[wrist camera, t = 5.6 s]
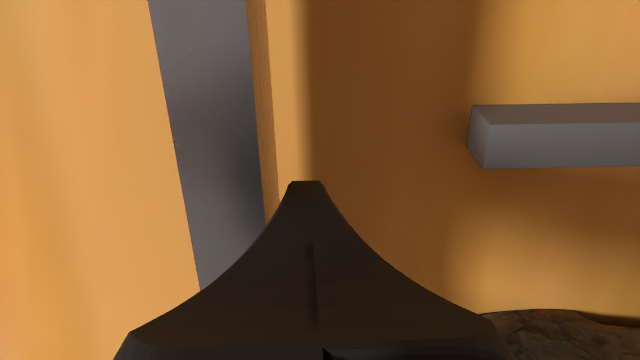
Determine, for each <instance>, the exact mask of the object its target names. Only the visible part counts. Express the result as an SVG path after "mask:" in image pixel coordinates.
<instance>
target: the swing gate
mask: <svg viewBox="0 0 640 360" xmlns="http://www.w3.org/2000/svg"><path fill="white" fill-rule="evenodd" d="M148 5H149V10H150V16H151V21H152V27H153V32H154V38H155V43H156V49H157V54H158V60H159V65H160V71H161V76H162V82H163V87H164V93H165V98H166V104H167V110H168V115H169V121H170V126H171V132H172V137H173V143H174V148H175V154H176V159H177V165H178V170H179V176H180V181H181V187H182V192H183V198H184V203H185V209H186V214H187V220H188V225H189V231H190V236H191V242H192V247H193V253H194V259H195V264H196V270H197V275H198V281H199V286H200V291H201V290H203V289H204V288H206V287H207V286H208V285H210V284H211V283H212V282H213V281H214V280H216V279H217V278H218V277H219V276H220V275H222V274H223V273H224V272H225V271H226V270H227V269H228V268H229V267H231V266H232V265H233V264H234V263H235V262H236V261H237V260H238V259H239V258H240V257H241V256H242V254H243V253H244V252H245V251H246V250H247V249H248V248H249V247H250V245H251V244H252V243H253V242H254V241H255V239H256V238H257V237H258V235H259V234H260V233H261V232H262V230H263V229H264V228H265V226H266V225H267V224H268V222H269V221H270V219H271V217H272V216H273V214H274V213H275V211H276V210H277V208H278V206H279V204H280V201H279V187H278V173H277V159H276V144H275V130H274V116H273V102H272V88H271V74H270V60H269V46H268V31H267V17H266V3H265V0H148Z"/></svg>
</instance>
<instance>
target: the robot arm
mask: <svg viewBox="0 0 640 360" xmlns="http://www.w3.org/2000/svg"><path fill="white" fill-rule="evenodd" d="M113 360H517V359H516V358H515V356H514V354H513V352H512V351H511V349H510V347H509V346H508V344H507V343H506V341H505V340H504V338H503V337H502V335H501V334H500V332H499V331H498V329H497V328H496V326H495V325H494V323H493V321H492V320H489V319H487V318H485V317H483V316H480V315H478V314H476V313H474V312H471V311H469V310H467V309H465V308H462V307H460V306H458V305H455V304H453V303H451V302H449V301H447V300H445V299H444V298H442V297H440V296H438V295H436V294H434V293H433V292H431V291H429V290H427V289H425V288H424V287H422V286H421V285H419V284H417V283H416V282H414V281H412V280H411V279H410V278H408V277H407V276H405V275H404V274H402V273H401V272H399V271H398V270H397V269H395V268H394V267H393V266H391V265H390V264H389V263H387V262H386V261H385V260H384V259H382V258H381V257H380V256H379V255H378V254H377V253H376V252H375V251H374V250H373V249H371V248H370V247H369V246H368V245H367V244H366V243H365V242H364V240H363V239H362V238H361V237H360V236H359V235H358V234H357V233H356V232H355V231H354V229H353V228H352V227H351V226H350V225H349V223H348V222H347V221H346V219H345V218H344V217H343V216H342V214H341V213H340V212H339V210H338V209H337V207H336V206H335V204H334V203H333V201H332V200H331V198H330V197H329V195H328V193H327V191H326V189H325V187H324V185H323V184H322V183H321V182H320V181H292V182H291V183H290V184H289V185H288V188H287V190H286V193H285V195H284V197H283V199H282V201H281V203H280V204H279V206H278V208H277V210H276V211H275V213H274V214H273V216H272V217H271V219H270V221H269V222H268V224H267V225H266V226H265V228H264V229H263V230H262V232H261V233H260V234H259V235H258V237H257V238H256V239H255V241H254V242H253V243H252V244H251V245H250V247H249V248H248V249H247V250H246V251H245V252H244V253H243V254H242V256H241V257H240V258H239V259H238V260H237V261H236V262H235V263H234V264H233V265H232V266H231V267H229V268H228V269H227V270H226V271H225V272H224V273H223V274H222V275H220V276H219V277H218V278H217V279H216V280H214V281H213V282H212V283H211V284H210V285H208V286H207V287H206V288H204V289H203V290H201V291H200V292H198V293H197V294H196V295H194V296H193V297H191V298H190V299H188V300H187V301H185V302H183V303H182V304H180V305H179V306H177V307H175V308H174V309H172V310H170V311H169V312H167V313H165V314H163V315H161V316H159V317H157V318H156V319H154V320H152V321H150V322H148V323H146V324H144V325H142V326H141V327H139V328H137V329H135V330H132V331H130V332H129V333H128V335H127V337H126V338H125V340H124V342H123V343H122V345H121V347H120V349H119V350H118V352H117V354H116V355H115V357H114V359H113Z"/></svg>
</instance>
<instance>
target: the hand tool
mask: <svg viewBox="0 0 640 360" xmlns="http://www.w3.org/2000/svg"><path fill="white" fill-rule="evenodd" d="M480 316H483V317H485V318H487V319H489V320H492V321H493V323H494V325H495V326H496V328H497V329H498V331H499V332H500V334H501V335H502V337H503V338H504V340H505V341H506V343H507V344H508V346H509V347H510V349H511V351H512V352H513V354H514V356H515V358H516V359H517V360H640V328H636V327H626V326H615V325H604V324H600V323H598V322H595V321H593V320H589V319H587V318H584V317H582V316H581V315H580V314H579V313H577V312H576V311H575V310H564V309H529V310H515V311H505V312H497V313H488V314H482V315H480Z"/></svg>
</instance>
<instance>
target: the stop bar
mask: <svg viewBox="0 0 640 360" xmlns="http://www.w3.org/2000/svg"><path fill="white" fill-rule="evenodd" d="M466 147H467V149H468V150H469V151H470V153H471V154H472V156H473V157H474V158H475V160H476V161H477V162H478V164H479V165H480V167H481V168H482V169H520V168H569V167H618V166H640V103H593V104H527V105H473V106H472V112H471V119H470V125H469V131H468V138H467V144H466Z"/></svg>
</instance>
